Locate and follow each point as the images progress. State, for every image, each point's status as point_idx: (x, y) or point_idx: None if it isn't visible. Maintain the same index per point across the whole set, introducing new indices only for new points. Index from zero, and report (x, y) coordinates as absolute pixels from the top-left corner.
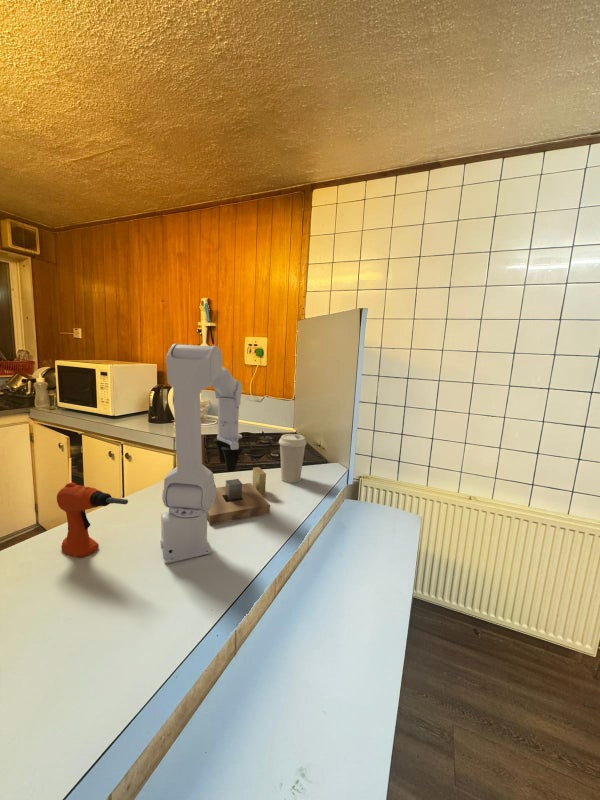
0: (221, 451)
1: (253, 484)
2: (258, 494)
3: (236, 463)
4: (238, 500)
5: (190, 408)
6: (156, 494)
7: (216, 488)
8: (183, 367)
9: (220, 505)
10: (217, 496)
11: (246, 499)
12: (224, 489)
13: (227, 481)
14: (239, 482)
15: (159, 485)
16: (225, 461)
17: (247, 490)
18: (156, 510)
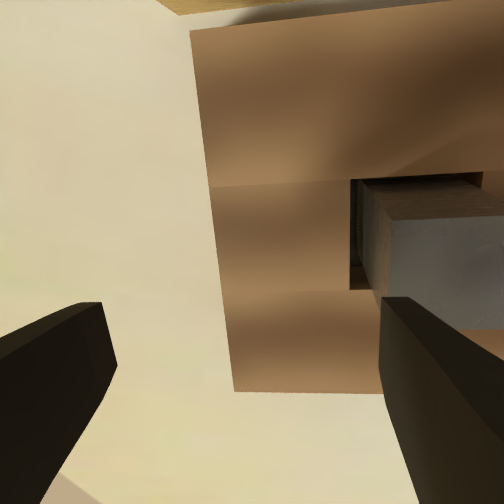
0: (27, 477)
1: (190, 2)
2: (452, 22)
3: (469, 341)
4: None
5: None
6: (155, 486)
7: (235, 298)
8: None
9: None
10: (357, 316)
11: (493, 148)
12: (265, 256)
13: None
14: (490, 231)
15: (62, 468)
16: (417, 492)
17: (337, 99)
18: (307, 501)
